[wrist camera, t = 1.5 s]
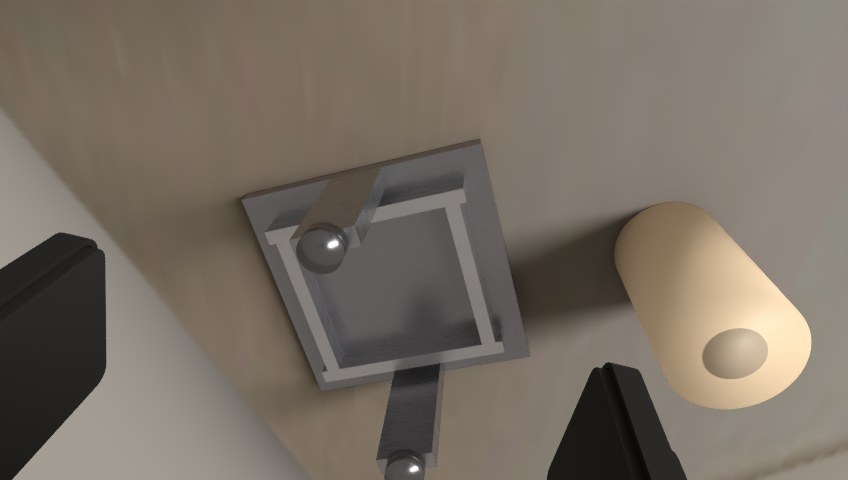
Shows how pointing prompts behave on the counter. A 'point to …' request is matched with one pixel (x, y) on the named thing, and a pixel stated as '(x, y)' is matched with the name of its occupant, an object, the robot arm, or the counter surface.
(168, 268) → the counter surface
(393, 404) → the stand
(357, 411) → the counter surface
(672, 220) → the paper roll
